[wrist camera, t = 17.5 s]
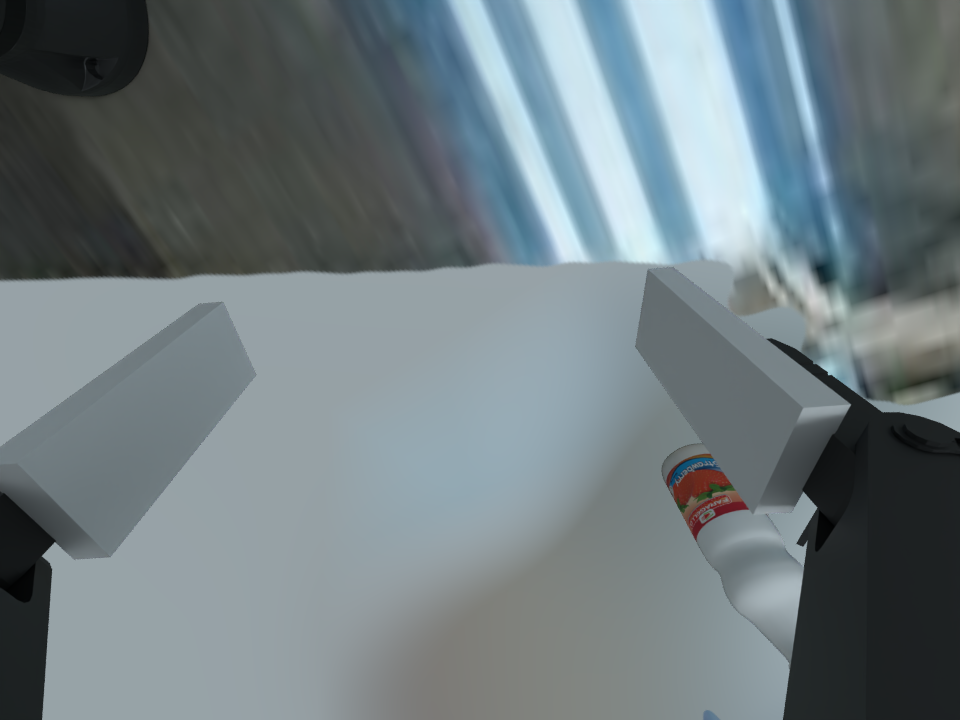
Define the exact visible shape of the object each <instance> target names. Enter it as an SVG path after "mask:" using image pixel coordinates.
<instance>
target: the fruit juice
mask: <svg viewBox="0 0 960 720" xmlns="http://www.w3.org/2000/svg"><path fill="white" fill-rule="evenodd" d="M662 476H663V479H664V481H665V483H666V485H667V487H668V488H669V491H670V493H671V494H672V496H673V498H674V500H675V502H676V504H677V506H678V508H679V510H680V512H681V513H682V515H683V517H684V519H685V521H686V523H687V525H688V526H689V528H690V530H691V532H692V534H693V536H694V538H695V540H696V542H697V544H698V546H699V548H700V550H701V551H702V553H703V555H704V556H705V558H706V560H707V561H708V563H709V564H710V565H711V566H712V567H713V568H714V569H715V570H716V571H717V572H718V573H719V575H720V577H721V581H722V585H723V588H724V592H725V594H726V596H727V598H728V599H729V601H730V603H731V604H732V606H733V607H734V608H735V610H736V611H737V612H738V613H740V614H741V615H742V616H743V617H745V618H746V619H747V620H749V621H750V622H751V623H752V624H753V625H755V627H756V628H757V629H758V630H759V631H760V632H761V633H762V634H763V635H764V636H765V637H766V638H767V639H768V640H769V641H770V642H771V643H772V644H773V645H774V646H775V647H776V648H777V649H778V650H779V651H780V653H781V654H782V655H783V656H784V657H785V658H786V659H787V660H788V662H789V669H790V665H791V658H792V651H793V644H794V636H795V629H796V622H797V615H798V607H799V600H800V593H801V586H802V578H803V571H804V567H803V566H802V565H801V564H800V563H799V562H798V561H797V560H796V559H795V558H793V557H792V556H791V555H790V554H789V553H788V552H787V550H786V548H785V544H784V540H783V538H782V536H781V534H780V533H779V531H778V529H777V528H776V526H775V525H774V523H773V522H772V520H771V519H770V518H769V517H768V515H767V514H760V515H753V514H752V513H751V511H750V510H749V508H748V507H747V506H746V504H745V503H744V501H743V500H742V498H741V497H740V496H739V494H738V493H737V491H736V490H735V489H734V487H733V486H732V484H731V483H730V481H729V480H728V479H727V477H726V476H725V474H724V473H723V471H722V470H721V469H720V467H719V466H718V464H717V463H716V461H715V460H714V459H713V457H712V456H711V454H710V453H709V451H708V450H707V449H706V447H705V446H704V444H691V445H687V446H684V447H682V448H679V449H677V450H676V451H674V452H673V453H671V454H670V455H669V456H668V457H667V458H666V460H665V461H664V463H663V465H662Z"/></svg>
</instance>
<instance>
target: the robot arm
mask: <svg viewBox="0 0 960 720" xmlns="http://www.w3.org/2000/svg"><path fill="white" fill-rule="evenodd" d="M147 42H148V19H147V11H146V5H145V0H0V74H2V75H5V76H7V77H10V78H12V79H15V80H17V81H20V82H22V83H24V84H27V85H29V86H32V87H35V88H37V89H41V90H44V91H48V92H52V93H56V94H62V95H73V96H101V95H107V94H110V93H113V92H116V91H118V90H120V89H121V88H123V87H124V86H126V85H127V84H128V83H129V82H130V81H131V80H132V79H133V78H134V77H135V76H136V74H137V73H138V71H139V69H140V67H141V65H142V63H143V60H144V57H145V54H146V49H147ZM635 347H636V349H637V350H638V351H639V353H640V354H641V356H642V357H643V359H644V360H645V361H646V363H647V364H648V366H649V367H650V369H651V370H652V371H653V373H654V374H655V376H656V377H657V378H658V380H659V381H660V383H661V384H662V386H663V387H664V389H665V390H666V391H667V393H668V394H669V396H670V397H671V398H672V400H673V401H674V403H675V404H676V406H677V407H678V409H679V410H680V411H681V413H682V414H683V416H684V417H685V419H686V420H687V421H688V423H689V424H690V426H691V427H692V428H693V430H694V431H695V433H696V434H697V436H698V437H699V439H700V440H701V441H702V443H703V444H704V446H705V447H706V449H707V450H708V451H709V453H710V454H711V456H712V457H713V459H714V460H715V461H716V463H717V464H718V466H719V467H720V469H721V470H722V471H723V473H724V474H725V476H726V477H727V479H728V480H729V481H730V483H731V484H732V486H733V487H734V489H735V490H736V491H737V493H738V494H739V496H740V497H741V498H742V500H743V501H744V503H745V504H746V506H747V507H748V508H749V510H750V511H751V513H752V514H753V515H760V514H775V513H789V512H790V513H791V512H792V511H793V509H794V507H795V505H796V504H797V502H798V500H799V498H800V497H801V495H802V493H803V491H804V493H805V494H806V495H807V496H808V497H809V498H810V499H811V501H812V502H813V503H814V504H815V505H816V506H817V507H818V508H817V510H816V511H815V513H814V515H813V516H812V518H811V520H810V521H809V523H808V525H807V526H806V528H805V530H804V531H803V533H802V535H801V536H800V538H799V540H798V542H797V544H798V545H800V546H804V544H805V543H806V542H807V540H808V542H807V549H806V557H805V564H804V571H803V578H802V586H801V593H800V600H799V607H798V615H797V622H796V629H795V636H794V644H793V651H792V658H791V665H790V673H789V680H788V687H787V694H786V702H785V709H784V717H783V720H960V433H959V432H957V431H955V430H953V429H951V428H949V427H947V426H945V425H943V424H941V423H938V422H936V421H933V420H930V419H927V418H924V417H920V416H916V415H911V414H905V413H900V412H891V413H890V412H886V413H885V412H884V413H883V412H881V411H880V410H878V409H877V408H876V407H874V406H873V405H872V404H870V403H869V402H868V401H866V400H865V399H863V398H862V397H861V396H859V395H858V394H857V393H855V392H854V391H853V390H851V389H850V388H848V387H847V386H846V385H844V384H843V383H842V382H840V381H839V380H837V379H836V378H835V377H833V376H832V375H828V372H827V371H825V370H824V369H822V368H821V367H820V366H818V365H817V364H813V361H812V360H810V359H809V358H807V357H806V356H805V355H803V354H802V353H801V352H799V351H798V350H796V349H795V348H793V347H790V346H788V345H786V344H783V343H781V342H779V341H777V340H774V339H765V338H764V337H763V336H761V335H760V334H759V333H758V332H756V331H755V330H754V329H753V328H751V327H750V326H749V325H747V324H746V323H745V322H743V321H742V320H741V319H740V318H738V317H737V316H736V315H734V314H733V313H732V312H731V311H729V310H728V309H727V308H725V307H724V306H723V305H722V304H720V303H719V302H718V301H716V300H715V299H714V298H712V297H711V296H710V295H708V294H707V293H706V292H705V291H703V290H702V289H701V288H699V287H698V286H697V285H695V284H694V283H693V282H691V281H690V280H689V279H688V278H686V277H685V276H684V275H683V274H681V273H680V272H679V271H677V270H676V269H675V268H674V267H667V268H656V269H655V268H654V269H648V271H647V277H646V283H645V290H644V296H643V302H642V308H641V315H640V321H639V327H638V333H637V339H636V345H635ZM255 376H256V373H255V371H254V369H253V366H252V364H251V362H250V360H249V358H248V355H247V353H246V351H245V349H244V347H243V345H242V342H241V340H240V338H239V336H238V333H237V331H236V329H235V327H234V325H233V322H232V320H231V318H230V316H229V314H228V311H227V309H226V307H225V305H224V303H223V302H216V303H203V304H198V305H197V306H195V307H194V308H193V309H191V310H190V311H188V312H187V313H186V314H184V315H183V316H182V317H180V318H179V319H177V320H176V321H175V322H173V323H172V324H170V325H169V326H167V327H166V328H165V329H163V330H162V331H160V332H159V333H158V334H156V335H155V336H154V337H152V338H151V339H149V340H148V341H147V342H145V343H144V344H142V345H141V346H140V347H138V348H137V349H135V350H134V351H133V352H131V353H130V354H128V355H127V356H126V357H125V358H123V359H122V360H120V361H119V362H117V363H116V364H115V365H113V366H112V367H111V368H109V369H108V370H106V371H105V372H103V373H102V374H101V375H99V376H98V377H97V378H95V379H94V380H92V381H91V382H90V383H88V384H87V385H85V386H84V387H83V388H82V389H80V390H79V391H77V392H76V393H74V394H73V395H72V396H70V397H69V398H67V399H66V400H65V401H63V402H62V403H61V404H59V405H58V406H56V407H55V408H54V409H52V410H51V411H49V412H48V413H47V414H45V415H44V416H42V417H41V418H40V419H38V420H37V421H35V422H34V423H33V424H32V425H30V426H28V427H27V428H26V429H24V430H23V431H22V432H20V433H19V434H17V435H16V436H15V437H13V438H12V439H11V440H9V441H8V442H6V443H5V444H3V445H2V446H1V447H0V720H42V711H43V697H44V683H45V668H46V653H47V636H48V623H49V608H50V593H51V578H52V577H51V576H52V568H51V566H50V563H49V562H48V561H47V560H45V559H44V558H43V557H42V555H43V554H44V553H45V552H46V551H47V550H48V549H49V547H51V546H52V544H53V543H54V542H56V543H57V544H58V545H59V546H60V547H61V548H62V549H63V550H64V551H65V552H66V553H68V554H69V555H70V556H71V557H72V558H73V559H90V558H104V557H111V556H112V554H113V553H114V552H115V551H116V550H117V548H118V547H119V546H120V545H121V543H122V542H123V541H124V539H125V538H126V537H127V536H128V535H129V533H130V532H131V531H132V530H133V528H134V527H135V526H136V525H137V523H138V522H139V521H140V520H141V518H142V517H143V516H144V515H145V513H146V512H147V511H148V510H149V508H150V507H151V506H152V505H153V503H154V502H155V501H156V500H157V498H158V497H159V496H160V495H161V493H162V492H163V491H164V490H165V488H166V487H167V486H168V484H169V483H170V482H171V481H172V480H173V478H174V477H175V476H176V475H177V473H178V472H179V471H180V470H181V468H182V467H183V466H184V465H185V463H186V462H187V461H188V460H189V458H190V457H191V456H192V455H193V453H194V452H195V451H196V450H197V448H198V447H199V446H200V445H201V443H202V442H203V441H204V440H205V438H206V437H207V436H208V435H209V433H210V432H211V431H212V430H213V428H214V427H215V426H216V425H217V423H218V422H219V421H220V420H221V418H222V417H223V416H224V415H225V413H226V412H227V411H228V410H229V408H230V407H231V406H232V405H233V403H234V402H235V401H236V400H237V398H238V397H239V396H240V395H241V393H242V392H243V391H244V390H245V388H246V387H247V386H248V385H249V383H250V382H251V381H252V380H253V378H254V377H255Z"/></svg>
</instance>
